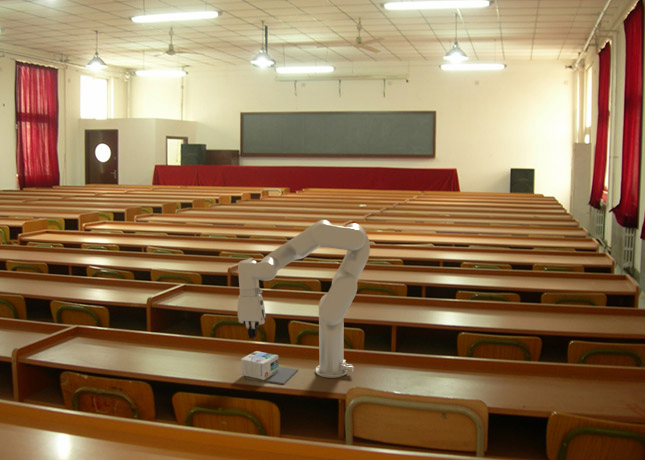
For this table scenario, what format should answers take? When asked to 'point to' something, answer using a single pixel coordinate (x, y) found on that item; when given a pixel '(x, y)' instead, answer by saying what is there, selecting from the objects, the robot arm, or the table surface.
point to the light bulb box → (259, 365)
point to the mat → (278, 376)
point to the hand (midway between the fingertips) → (252, 337)
